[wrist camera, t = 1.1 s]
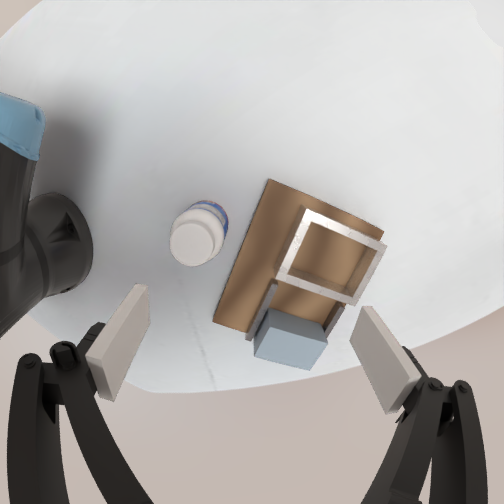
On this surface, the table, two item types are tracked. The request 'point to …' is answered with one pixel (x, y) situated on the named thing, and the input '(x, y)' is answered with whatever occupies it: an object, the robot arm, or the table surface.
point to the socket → (320, 285)
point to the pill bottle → (198, 233)
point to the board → (307, 259)
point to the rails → (265, 302)
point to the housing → (289, 340)
